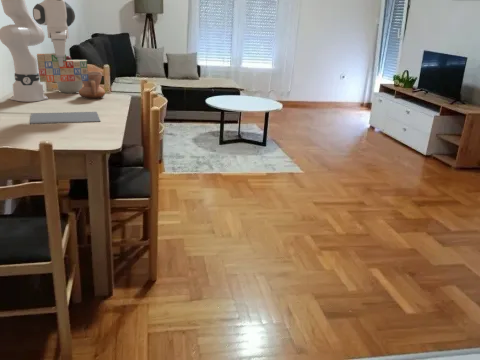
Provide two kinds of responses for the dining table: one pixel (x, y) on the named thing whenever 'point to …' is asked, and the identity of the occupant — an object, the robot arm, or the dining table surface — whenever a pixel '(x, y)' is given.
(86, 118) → the charcoal mat
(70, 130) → the dining table surface
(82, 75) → the stack of blocks
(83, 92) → the ceramic jug
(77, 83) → the canister
